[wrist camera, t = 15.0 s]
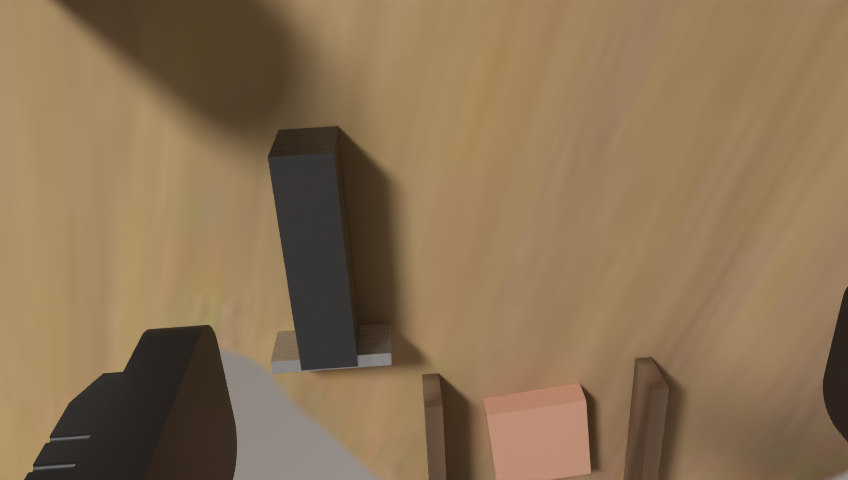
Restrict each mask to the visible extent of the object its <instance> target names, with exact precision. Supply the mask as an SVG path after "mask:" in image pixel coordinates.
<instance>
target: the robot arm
mask: <svg viewBox="0 0 848 480" xmlns="http://www.w3.org/2000/svg"><path fill="white" fill-rule="evenodd" d="M823 395H824V401H825V405H826V408H827V411H828V414H829V416H830V419H831V420H832V422H833V424H834V425H835V427H836V428H837V430H838V431H839V432H840V433H841V434H842V436H843V437H844V438H845V439H846V441H847V442H848V287H847V288H846V290H845V292H844V295H843V299H842V303H841V307H840V311H839V315H838V320H837V324H836V328H835V332H834V336H833V340H832V344H831V349H830V353H829V357H828V361H827V365H826V369H825V373H824V379H823ZM236 456H237V436H236V426H235V420H234V415H233V410H232V406H231V401H230V397H229V393H228V388H227V383H226V379H225V374H224V370H223V365H222V361H221V356H220V351H219V347H218V342H217V339H216V335H215V333H214V331H213V329H212V327H211V326H209V325H200V326H187V327H173V328H160V329H148V330H146V331H145V332H144V333H143V335H142V336H141V338H140V340H139V342H138V344H137V346H136V348H135V350H134V352H133V354H132V356H131V358H130V360H129V362H128V364H127V366H126V367H125V369H124V371H123V372H116V373H103V374H102V375H101V376H100V377H99V378H98V379H96V380H95V381H94V382H93V383H92V384H91V385H89V386H88V387H87V388H86V389H85V390H84V391H83V392H81V393H80V394H79V395H78V396H77V397H76V398H74V399H73V400H72V401H71V402H70V403H69V404H68V406H67V408H66V410H65V411H64V413H63V415H62V416H61V418H60V420H59V421H58V423H57V425H56V427H55V428H54V430H53V432H52V433H51V435H50V443H46V444H45V445H44V447H43V449H42V450H41V452H40V454H39V455H38V457H37V459H36V461H35V462H34V464H33V472H29V473H28V474H27V476H26V478H25V479H24V480H233V477H234V472H235V466H236Z"/></svg>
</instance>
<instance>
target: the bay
mask: <svg viewBox="0 0 848 480" xmlns="http://www.w3.org/2000/svg"><path fill="white" fill-rule="evenodd" d="M422 379H423V395H424V410H425V425H426V441H427V456H428V472H429V480H446V463H445V443H444V423H443V405H442V396H441V388H440V380H439V374H427V375H422ZM668 395H669V387H668V385H667V383H666V382H665V380H664V378H663V376H662V375H661V373H660V371H659V369H658V368H657V366H656V364H655V362H654V360H653V359H652V357H651V358H638V359H635V369H634V380H633V390H632V400H631V410H630V420H629V431H628V441H627V451H626V461H625V472H624V480H658V475H659V467H660V459H661V451H662V443H663V435H664V427H665V419H666V411H667V403H668Z"/></svg>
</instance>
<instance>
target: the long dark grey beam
mask: <svg viewBox="0 0 848 480" xmlns="http://www.w3.org/2000/svg"><path fill="white" fill-rule="evenodd" d="M268 161H269V168H270V174H271V181H272V187H273V193H274V200H275V206H276V212H277V219H278V225H279V231H280V238H281V244H282V251H283V257H284V263H285V270H286V276H287V282H288V289H289V295H290V301H291V308H292V314H293V321H294V327H295V330H292V331H278V332H277V337H276V341H275V346H274V350H273V354H272V359H271V366H272V371H273V374H276V373H290V372H303V371H317V370H331V369H344V368H358V367H372V366H385V365H392V352H391V327H390V323H386V324H373V325H360V321H359V312H358V303H357V294H356V284H355V275H354V266H353V257H352V248H351V238H350V229H349V220H348V211H347V202H346V192H345V183H344V174H343V165H342V156H341V146H340V137H339V128H338V126H333V127H318V128H303V129H288V130H279V131H278V133H277V136H276V138H275V141H274V143H273V146H272V148H271V151H270V153H269V156H268Z"/></svg>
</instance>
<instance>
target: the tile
mask: <svg viewBox="0 0 848 480" xmlns="http://www.w3.org/2000/svg"><path fill="white" fill-rule="evenodd" d="M484 405H485V412H486V419H487V426H488V432H489V439H490V446H491V452H492V459H493V466H494V472H495V477H496V480H552V479H558V478H565V477H571V476H578V475H584V474H591V467H590V452H589V436H588V421H587V406H586V399H585V396H584V394H583V391H582V388H581V386H580V383H578V384H572V385H566V386H559V387H553V388H547V389H541V390H534V391H528V392H522V393H516V394H509V395H503V396H497V397H490V398H484Z"/></svg>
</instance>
